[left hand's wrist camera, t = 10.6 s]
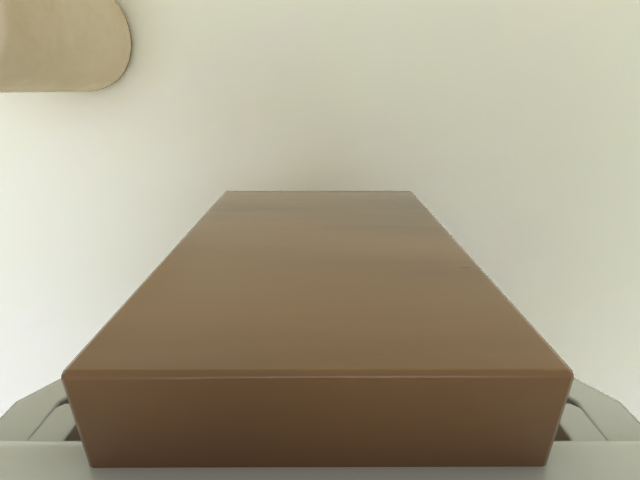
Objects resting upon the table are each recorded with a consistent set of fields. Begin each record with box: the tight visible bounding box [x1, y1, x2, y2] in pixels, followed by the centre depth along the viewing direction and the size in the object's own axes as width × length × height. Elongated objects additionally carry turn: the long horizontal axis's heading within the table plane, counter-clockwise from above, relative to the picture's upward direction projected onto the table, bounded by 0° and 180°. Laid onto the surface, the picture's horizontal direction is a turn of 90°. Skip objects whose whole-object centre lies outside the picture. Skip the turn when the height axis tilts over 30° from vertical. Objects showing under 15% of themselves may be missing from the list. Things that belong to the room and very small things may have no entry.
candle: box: [0, 0, 131, 92], centre depth 15 cm, size 6×6×10 cm
